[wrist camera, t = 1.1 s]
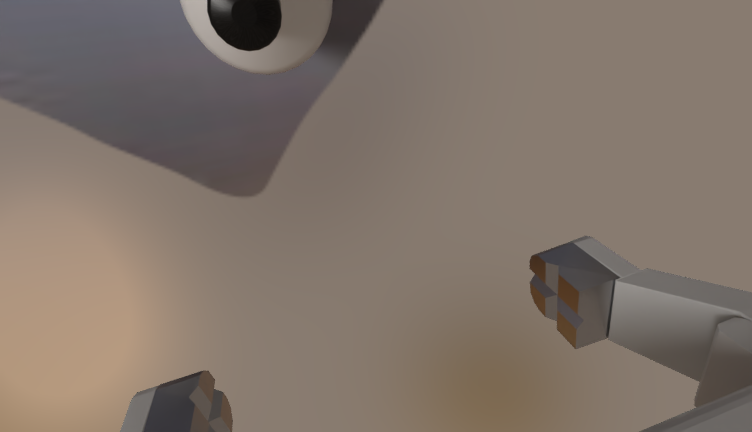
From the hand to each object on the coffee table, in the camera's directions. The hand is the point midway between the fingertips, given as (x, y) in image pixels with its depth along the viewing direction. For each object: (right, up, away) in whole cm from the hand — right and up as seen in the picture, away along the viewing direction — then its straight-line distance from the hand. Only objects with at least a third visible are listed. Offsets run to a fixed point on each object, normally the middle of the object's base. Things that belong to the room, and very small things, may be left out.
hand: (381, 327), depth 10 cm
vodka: (-11, +26, +29) cm, 41 cm away
